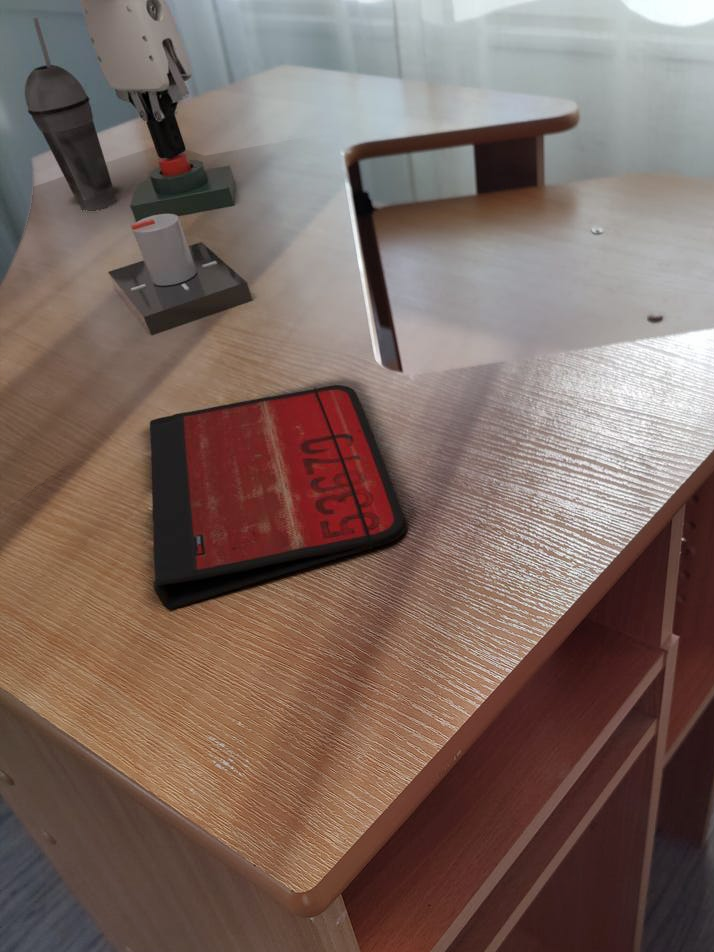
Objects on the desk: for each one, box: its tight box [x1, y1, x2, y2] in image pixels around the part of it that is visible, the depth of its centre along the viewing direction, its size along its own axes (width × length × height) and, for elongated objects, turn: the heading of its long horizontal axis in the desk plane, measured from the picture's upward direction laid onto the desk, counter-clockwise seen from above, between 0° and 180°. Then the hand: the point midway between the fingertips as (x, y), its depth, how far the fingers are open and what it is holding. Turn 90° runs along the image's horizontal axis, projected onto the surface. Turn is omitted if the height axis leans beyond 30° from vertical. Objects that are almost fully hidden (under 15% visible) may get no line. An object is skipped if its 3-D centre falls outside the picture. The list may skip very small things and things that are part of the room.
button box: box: [129, 159, 236, 223], centre depth 108 cm, size 12×9×4 cm
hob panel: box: [107, 241, 254, 337], centre depth 85 cm, size 14×10×3 cm
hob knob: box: [130, 214, 197, 286], centre depth 82 cm, size 4×4×5 cm
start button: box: [157, 151, 192, 175], centre depth 106 cm, size 4×4×2 cm
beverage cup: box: [24, 17, 117, 212], centre depth 106 cm, size 7×7×20 cm
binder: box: [149, 384, 408, 610], centre depth 61 cm, size 16×2×21 cm
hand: (172, 154), depth 106 cm, fingers closed
